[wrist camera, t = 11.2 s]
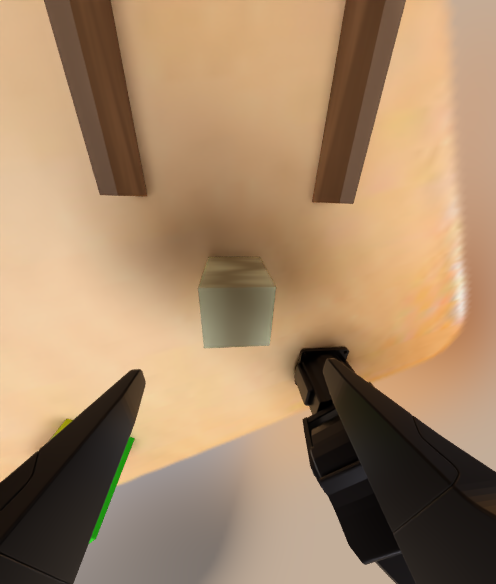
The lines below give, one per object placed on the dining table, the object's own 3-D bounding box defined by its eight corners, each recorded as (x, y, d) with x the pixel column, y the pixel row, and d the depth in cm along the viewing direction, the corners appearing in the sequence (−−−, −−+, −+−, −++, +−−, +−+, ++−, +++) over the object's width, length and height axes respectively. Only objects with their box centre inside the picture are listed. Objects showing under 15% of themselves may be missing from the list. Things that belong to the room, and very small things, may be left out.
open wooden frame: (370, -47, 11) (454, -190, 7) (323, 202, 17) (353, 203, 13) (70, -101, 9) (-51, -330, 5) (133, 195, 15) (100, 195, 11)
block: (259, 256, 18) (276, 287, 12) (257, 301, 21) (269, 345, 14) (208, 256, 18) (198, 288, 12) (211, 301, 20) (203, 348, 14)
